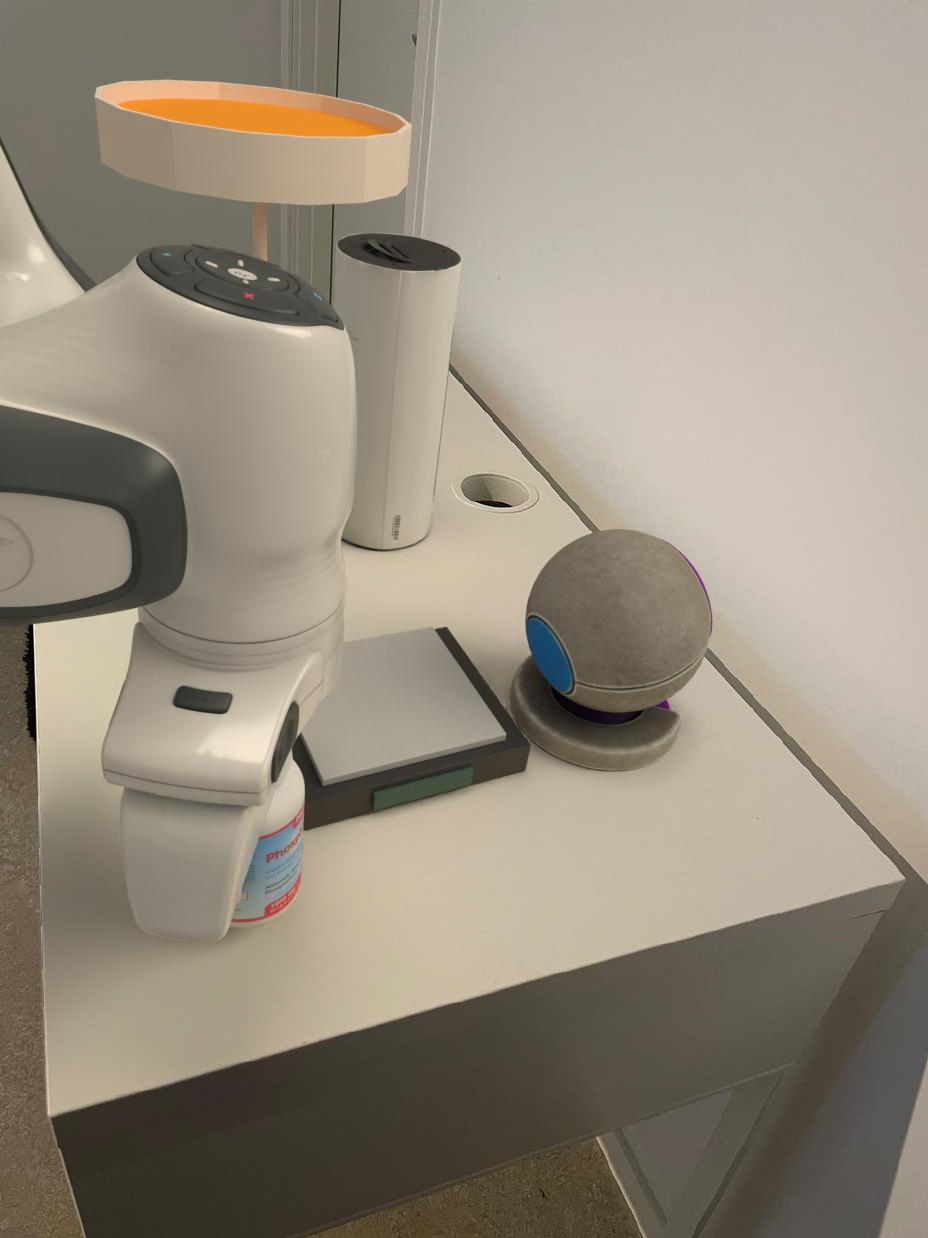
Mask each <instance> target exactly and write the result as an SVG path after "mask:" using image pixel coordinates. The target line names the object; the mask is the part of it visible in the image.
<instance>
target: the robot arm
mask: <svg viewBox="0 0 928 1238" xmlns="http://www.w3.org/2000/svg"><path fill="white" fill-rule="evenodd" d="M356 446H357V398H356V377H355V367H354V358H353V352H352V347H351V343H350V339H349V336H348V333H347V330H346V328H345V326H344V324H343V322H342V321H341V319H340V317H339V316H338V314H337V313H336V312H335V310H334V309H333V306H332V305H331V304H330V302H329V300H328V299H326V297H325V296H323V294H322V293H320V291H319V290H318V289H317V288H315V287H314V286H313V285H312V284H311V283H310V282H308V281H307V280H306V279H304V278H303V277H301V276H298V275H296V274H294V273H292V272H290V271H288V270H286V269H284V268H282V266H280V265H278V264H275V263H273V262H271V261H269V260H267V261H265V260H263V259H260V258H257V257H254V256H253V255H250V254H247V253H244V252H241V251H236V250H232V249H228V248H222V247H217V246H210V245H204V244H197V243H196V244H194V243H192V244H190V245H189V244H188V245H186V244H165V245H164V244H163V245H158V246H157V245H156V246H151V247H148V248H145V249H144V250H141V251H140V252H138V253H137V254H135V256H134V257H133V258H132V259H131V260H130V262H129V263H128V264H127V265H125V266H124V267H123V268H122V269H121V270H120V271H118V272H116V273H115V274H114V275H112V276H111V277H109V278H107V279H105V280H104V281H102V282H101V283H98V284H97V283H96V282H95V281H94V280H93V279H92V278H91V277H90V275H88V273H86V272H85V270H83V268H82V267H80V266H79V264H78V263H76V261H75V260H74V259H73V257H72V256H70V255H69V253H67V251H66V250H65V249H64V248H63V247H62V246H61V244H60V243H59V242H58V240H57V239H56V238H55V237H54V236H53V234H52V233H51V231H50V230H49V228H48V227H47V226H46V225H45V223H44V222H43V220H42V218H41V216H40V215H39V212H37V210H36V208H35V206H34V204H33V203H32V200H31V198H30V197H29V195H28V193H27V190H26V189H25V186H24V184H23V182H22V179H21V178H20V176H19V174H18V172H17V170H16V167H15V165H14V163H13V161H12V159H11V156H10V155H9V152H8V150H7V148H6V145H5V143H4V141H3V139H2V136H0V628H4V627H7V628H8V627H18V626H19V627H21V626H31V625H37V624H39V625H40V624H47V623H55V622H56V623H57V622H61V621H70V620H77V619H83V618H90V617H96V616H104V615H108V614H115V613H119V612H124V611H129V610H134V609H137V618H138V619H137V620H138V621H137V622H136V623H135V624H134V626H133V631H132V638H131V650H130V656H129V662H128V667H127V671H126V672H127V673H126V675H125V678H124V681H123V683H122V685H121V689H120V692H119V696H118V698H117V702H116V704H115V707H114V710H113V713H112V715H111V718H110V720H109V723H108V727H107V730H106V733H105V735H104V738H103V740H102V741H103V742H102V745H101V751H100V753H101V754H100V760H101V761H100V763H101V771H102V775H103V777H104V780H105V782H107V783H108V784H111V785H114V786H118V787H123V789H122V793H121V798H120V806H119V816H118V817H119V818H118V833H119V846H120V853H121V860H122V867H123V872H124V879H125V885H126V891H127V896H128V900H129V905H130V910H131V913H132V917H133V919H134V921H135V923H136V925H137V926H138V927H139V929H141V930H142V931H143V932H145V933H148V934H150V935H153V936H157V937H161V938H165V939H170V940H176V941H183V942H192V943H211V942H216V941H219V940H221V939H223V938H224V937H225V936H226V935H227V932H228V931H229V928H230V927H229V926H230V923H231V920H232V916H233V913H234V910H235V907H236V906H238V905H239V903H240V900H241V897H242V894H243V891H244V888H245V885H246V882H247V877H246V875H247V872H248V869H249V866H250V863H251V860H252V857H253V854H254V851H255V849H256V846H257V843H258V840H259V837H260V834H261V831H262V828H263V825H264V822H265V819H266V816H267V814H268V811H269V808H270V805H271V802H272V799H273V796H274V793H275V790H276V787H277V786H276V784H275V782H277V780H278V778H279V775H280V773H281V771H282V768H283V766H284V764H285V761H286V759H287V757H288V755H289V753H290V751H291V749H292V747H293V745H294V743H295V741H296V739H297V737H298V735H299V734H300V732H301V731H302V730H303V728H304V727H305V725H306V724H307V723H308V721H309V720H310V718H311V717H312V715H313V714H314V712H315V710H316V708H317V706H318V704H319V703H320V702H322V701H323V700H324V699H325V698H326V697H327V696H328V695H329V694H330V692H331V691H332V690H333V688H334V687H335V685H336V683H337V681H338V679H339V675H340V672H341V663H342V648H343V643H344V632H345V621H346V610H347V609H346V608H347V606H346V605H347V591H348V572H347V567H346V563H345V558H344V555H343V552H342V539H341V537H342V532H343V529H344V527H345V524H346V522H347V520H348V517H349V515H350V512H351V509H352V505H353V498H354V484H355V469H356ZM275 786H276V787H275Z"/></svg>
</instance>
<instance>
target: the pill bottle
mask: <svg viewBox="0 0 928 1238" xmlns="http://www.w3.org/2000/svg"><path fill="white" fill-rule="evenodd" d="M275 784H276V786H277V787H276V786H275V787H276V790H275V793H274V796H273V799H272V802H271V805H270V808H269V811H268V814H267V816H266V819H265V822H264V825H263V828H262V831H261V834H260V837H259V840H258V843H257V846H256V849H255V851H254V854H253V857H252V860H251V863H250V866H249V869H248V872H247V875H246V877H247V882H246V885H245V888H244V891H243V894H242V897H241V900H240V903H239V905H238V906H236V907H235V910H234V913H233V916H232V920H231V923H230V926H229V928H253V927H254V928H255V927H259V926H262V925H266V924H268V923H271V922H272V921H275V920H277V919H278V918H279V917H281V916H282V915H283V914H285V913H286V912H287V911H288V910H289V909H290V907H292V905H293V904H294V902H295V901H296V898H297V897H298V894H299V892H300V889H301V888H300V887H301V884H302V883H301V882H302V873H303V872H302V870H303V869H302V868H303V847H304V846H303V845H304V830H303V826H304V803H305V785H304V779H303V775H302V773H301V771H300V769H299V767H298V765H297V764H296V763H295V761H294V760H293V756H292V749H291V751H290V753H289V755H288V757H287V759H286V761H285V764H284V766H283V768H282V771H281V773H280V775H279V778H278V780H277V782H275Z"/></svg>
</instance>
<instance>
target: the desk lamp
mask: <svg viewBox="0 0 928 1238" xmlns="http://www.w3.org/2000/svg"><path fill="white" fill-rule="evenodd" d="M94 105H95V114H96V115H95V116H96V123H97V132H98V133H97V134H98V142H99V153H100V160H101V162H100V163H101V164H103V165H105V166H107V167H108V168H109V169H112V170H114V171H115V172H116V173H118V174H120V175H122V176H124V177H126V178H128V179H131V180H135V181H139V182H143V183H146V184H150V185H153V186H158V187H160V188H164V189H168V190H171V191H175V192H180V193H187V194H194V195H199V196H206V197H211V198H217V199H225V200H233V201H239V202H249V203H252V207H251V208H252V209H251V210H252V250H253V251H252V252H253V254H252V256H254V257H257V258H260V259H263V260H265V261H268V228H267V227H268V223H267V222H268V220H267V218H268V215H267V214H268V213H267V208H268V207H267V204H282V205H300V206H301V205H302V206H322V205H343V204H344V205H346V204H347V205H348V204H365V203H368V202H373V201H378V200H382V199H383V200H384V199H387V198H391V197H395V196H398V195H399V194H400V193H401V192H402V191H403V190H404V189H405V188H406V186H407V185H408V184H409V170H410V169H409V168H410V158H411V157H410V156H411V143H412V131H413V125H412V124H411V123H410V122H409V121H408V120H406V119H405V118H404V117H403V116H402V115H400V114H398V113H395V112H391V111H389V110H385V109H383V108H379V107H376V106H373V105H371V104H367V103H362V102H359V101H358V102H357V101H354V100H349V99H345V98H339V97H335V96H330V95H325V94H319V93H313V92H306V91H299V90H293V89H286V88H279V87H275V86H274V87H272V86H263V85H254V84H253V85H252V84H243V83H234V82H233V83H232V82H224V81H223V82H221V81H205V80H181V79H153V80H152V79H150V80H148V79H147V80H124V81H119V82H114V83H110V84H104V85H100V86H96V89H95V93H94Z"/></svg>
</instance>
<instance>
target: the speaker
mask: <svg viewBox="0 0 928 1238" xmlns="http://www.w3.org/2000/svg"><path fill="white" fill-rule="evenodd" d="M334 262H335V264H334V285H333V288H334V289H333V290H334V291H333V306H332V308H333V309H334V310H335V312H336V313H337V314H338V316H339V317H340V319H341V321H342V322H343V324H344V326H345V328H346V330H347V333H348V336H349V339H350V343H351V347H352V352H353V358H354V367H355V377H356V398H357V446H356V469H355V484H354V498H353V505H352V509H351V512H350V515H349V517H348V520H347V522H346V524H345V527H344V529H343V532H342V537H341V541H344V542H346V543H348V544H350V545H354V546H356V547H360V548H365V549H370V550H379V551H380V550H381V551H388V550H398V549H404V548H408V547H410V546H414V545H416V544H418V543H420V542H422V540H423V539H425V537H426V536H427V535H428V533H429V532H430V530H431V526H432V517H433V508H434V501H435V492H436V486H437V485H436V484H437V475H438V466H439V458H440V450H441V442H442V441H441V440H442V434H443V433H442V432H443V425H444V418H445V417H444V415H445V410H446V409H445V407H446V401H447V400H446V399H447V390H448V381H449V373H450V366H451V365H450V364H451V358H452V357H451V356H452V347H453V339H454V338H453V337H454V331H455V330H454V329H455V322H456V314H457V306H458V305H457V304H458V296H459V287H460V279H461V271H462V263H463V256H462V255H461V254H460V253H459V252H458V251H456V250H455V249H454V248H451V247H450V246H447V245H445V244H444V243H440V242H437V241H434V240H430V239H428V238H422V237H418V236H414V235H407V234H401V233H392V232H391V233H390V232H362V233H361V232H360V233H352V234H349V235H345V236H342V237H341V238H340V239H338V241H336V243H335V261H334Z"/></svg>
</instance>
